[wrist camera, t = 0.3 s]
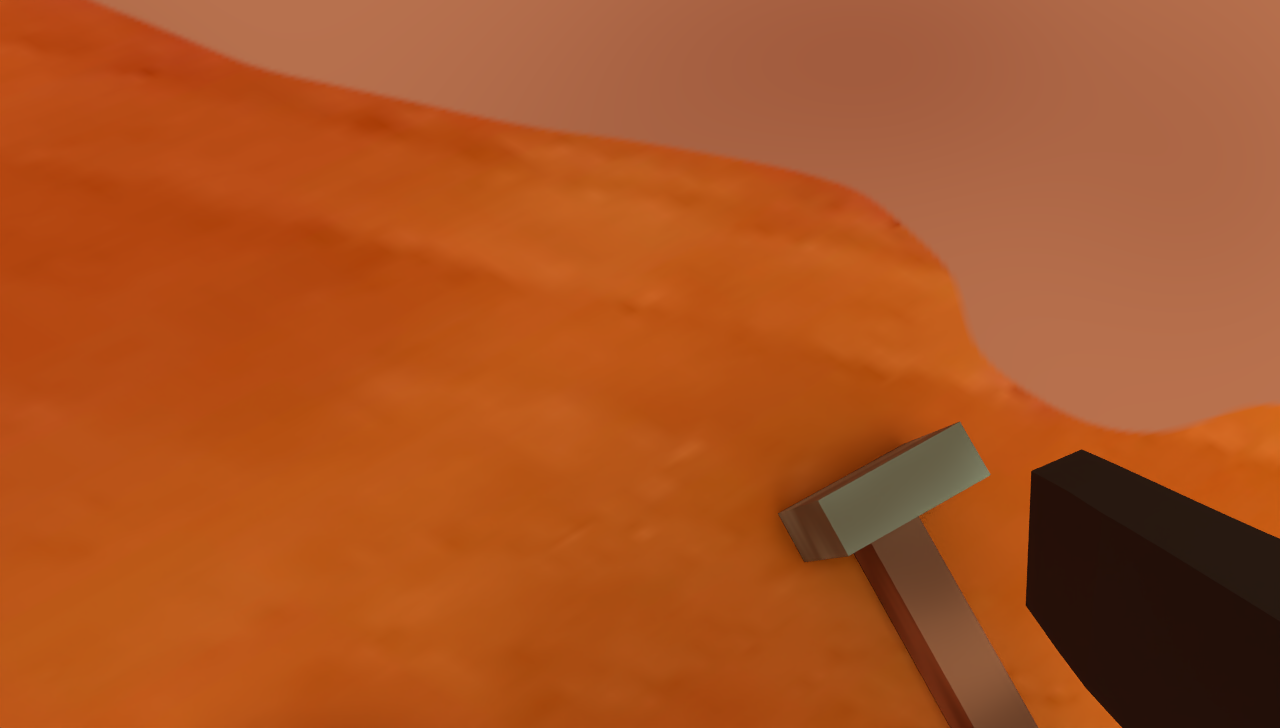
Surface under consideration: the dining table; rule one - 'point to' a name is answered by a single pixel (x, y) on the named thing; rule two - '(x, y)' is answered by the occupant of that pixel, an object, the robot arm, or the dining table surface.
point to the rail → (915, 569)
